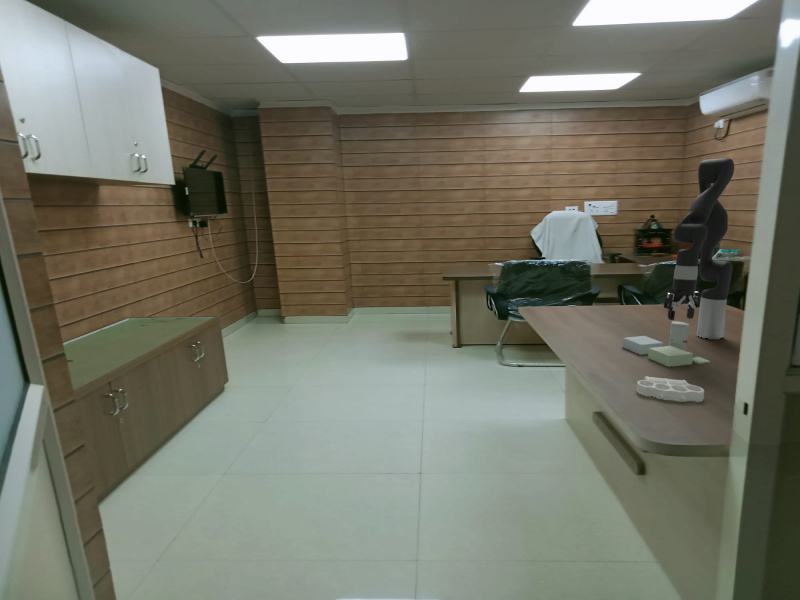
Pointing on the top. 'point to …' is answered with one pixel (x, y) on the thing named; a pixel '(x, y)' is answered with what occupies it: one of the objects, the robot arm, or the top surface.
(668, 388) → the white brass knuckles
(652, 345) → the blue-grey riser block
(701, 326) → the robot arm
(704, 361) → the sage tile
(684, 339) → the skincare box
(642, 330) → the top surface
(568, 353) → the top surface
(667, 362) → the sage riser block
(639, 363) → the top surface
